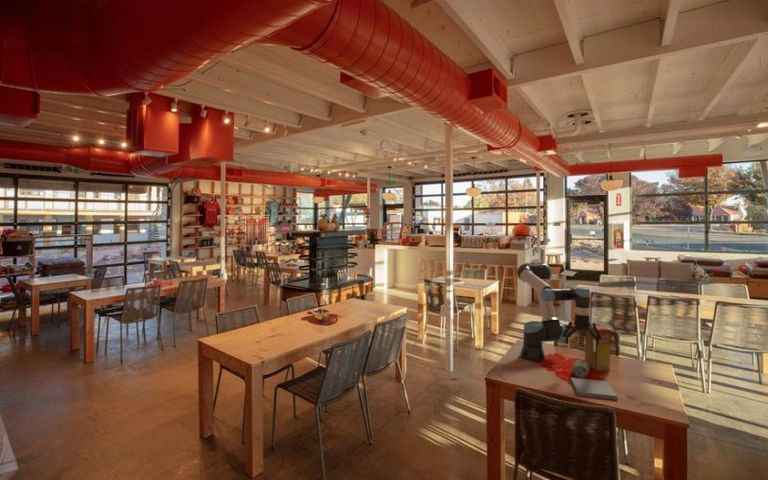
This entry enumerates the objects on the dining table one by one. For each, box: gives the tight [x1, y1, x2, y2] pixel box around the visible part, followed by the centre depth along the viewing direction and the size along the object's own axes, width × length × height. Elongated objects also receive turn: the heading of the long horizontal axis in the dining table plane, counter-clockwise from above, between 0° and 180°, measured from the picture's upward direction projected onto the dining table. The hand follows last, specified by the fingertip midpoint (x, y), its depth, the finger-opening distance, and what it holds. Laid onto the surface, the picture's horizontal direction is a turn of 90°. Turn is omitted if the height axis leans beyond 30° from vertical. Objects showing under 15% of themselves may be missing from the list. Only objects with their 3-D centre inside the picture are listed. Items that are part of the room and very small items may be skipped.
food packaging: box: [584, 323, 612, 372], centre depth 231 cm, size 13×9×25 cm
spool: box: [571, 359, 590, 379], centre depth 219 cm, size 14×10×10 cm
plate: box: [570, 376, 618, 401], centre depth 200 cm, size 18×18×2 cm
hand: (581, 349), depth 218 cm, fingers open, 13 cm apart
